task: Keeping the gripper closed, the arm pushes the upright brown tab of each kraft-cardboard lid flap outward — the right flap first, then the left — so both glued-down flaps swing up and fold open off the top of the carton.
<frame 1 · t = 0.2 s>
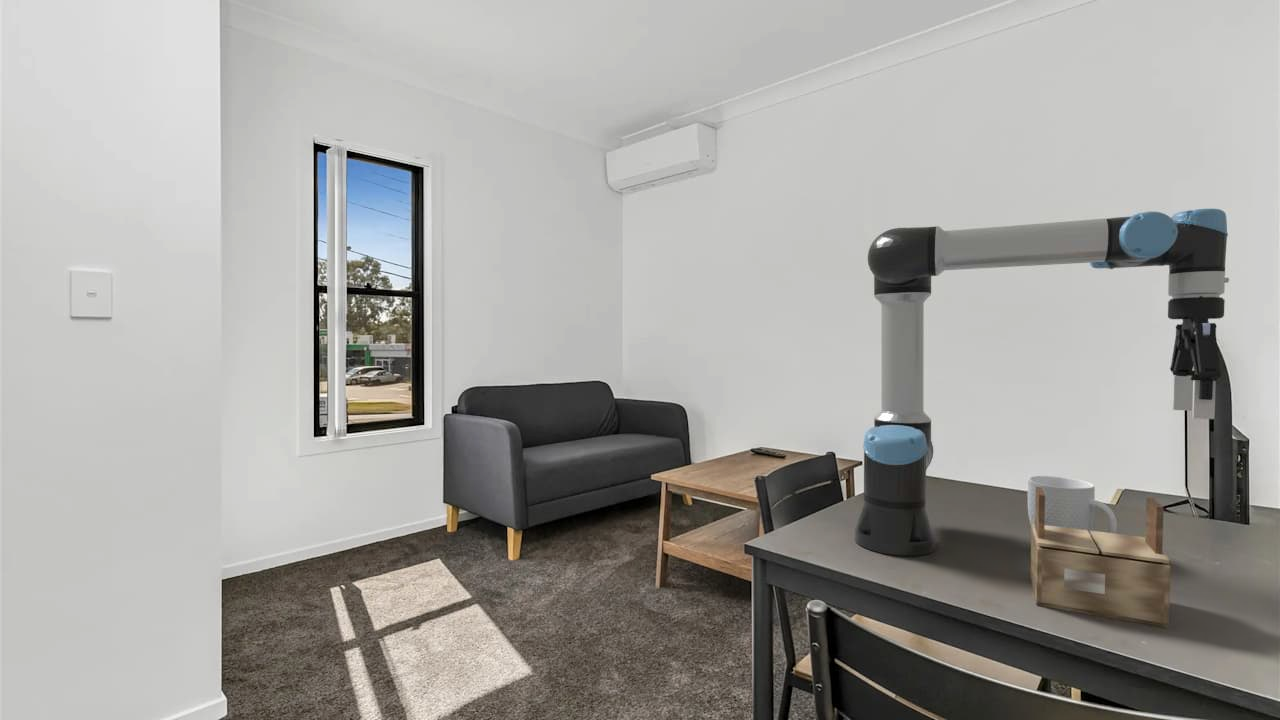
hand: (1192, 414, 110), 28 cm above the table, fingers open, 13 cm apart
left flap: (1063, 516, 98), point 13 cm above the table, hinge at 0.0°
carton: (1093, 600, 96), on the table
mug: (1065, 548, 121), on the table
right flap: (1127, 523, 94), point 13 cm above the table, hinge at 0.0°
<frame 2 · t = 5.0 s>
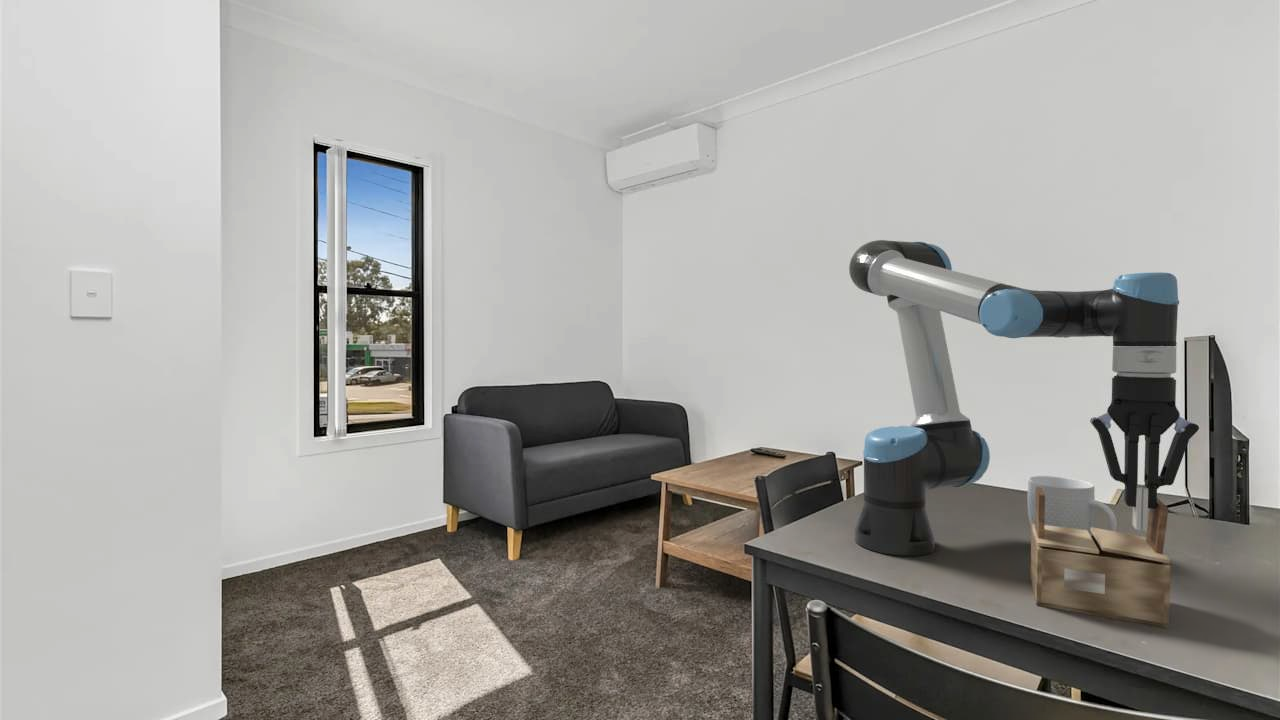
hand: (1139, 528, 93), 13 cm above the table, fingers closed
right flap: (1130, 522, 94), point 13 cm above the table, hinge at 4.5°, touching gripper
everything else where it was.
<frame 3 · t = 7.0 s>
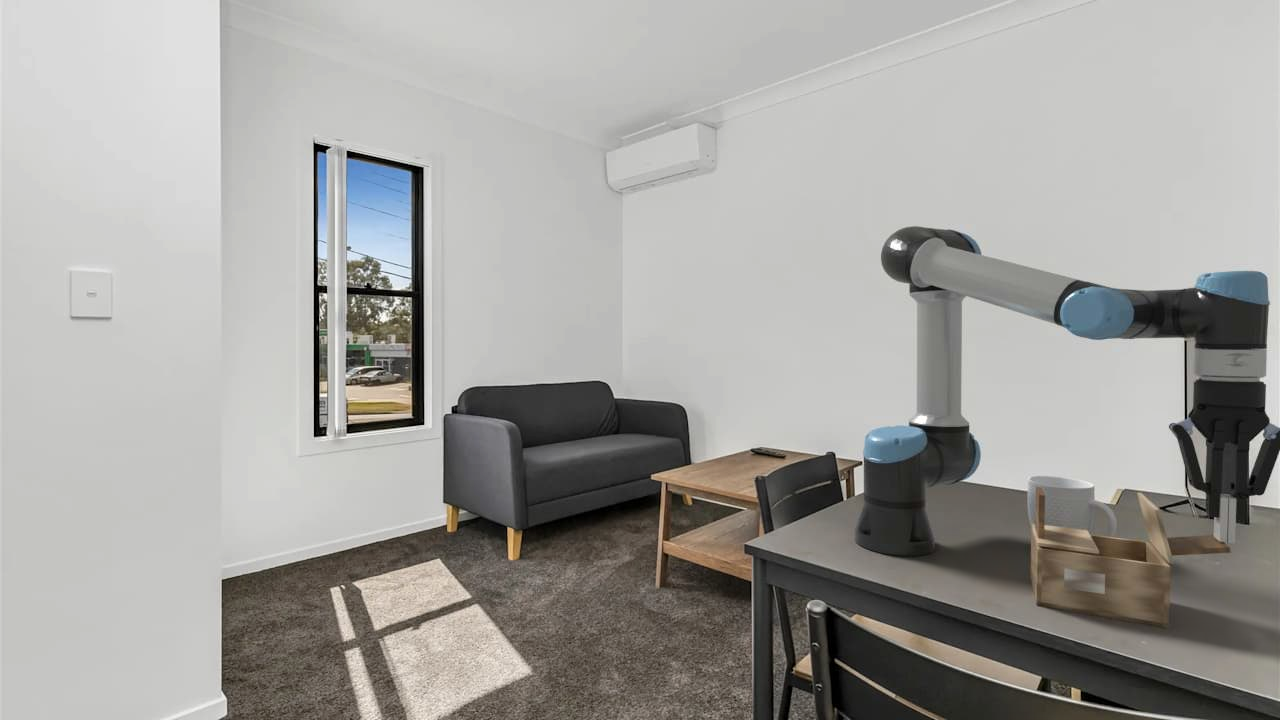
hand: (1224, 539, 88), 12 cm above the table, fingers closed
right flap: (1183, 524, 91), point 14 cm above the table, hinge at 76.6°, touching gripper
everything else where it was.
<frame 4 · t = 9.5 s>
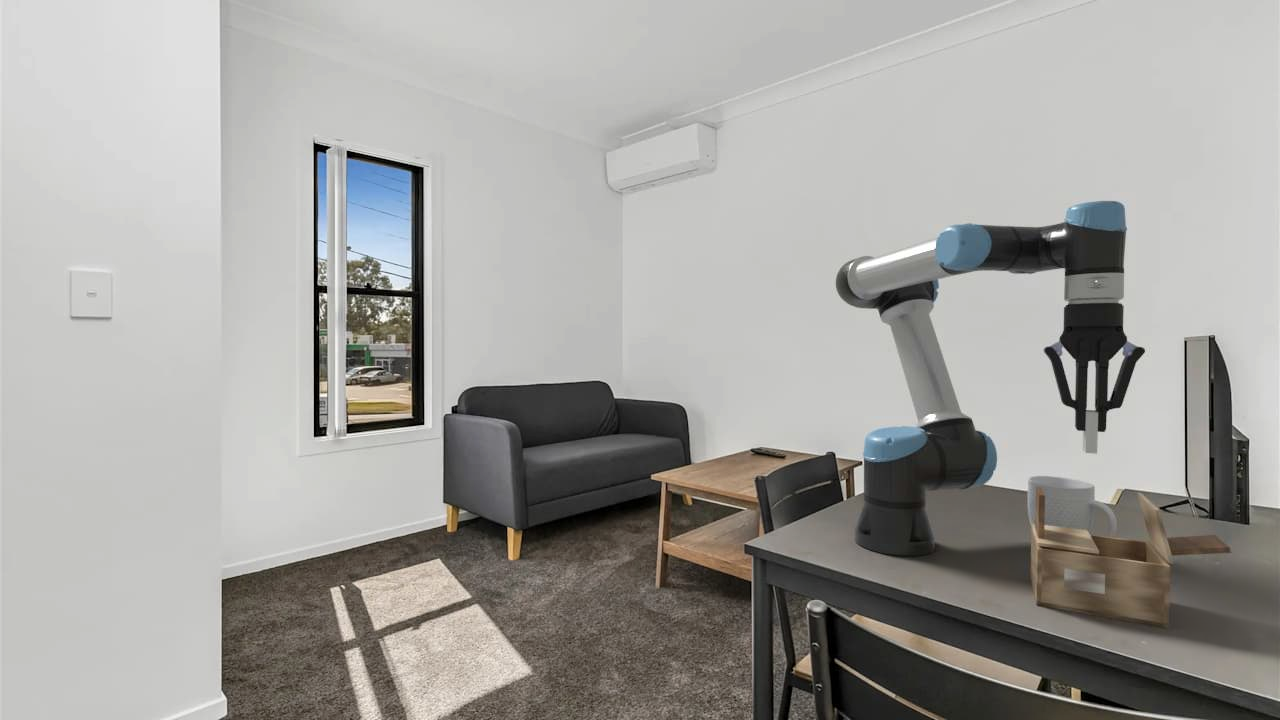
hand: (1089, 451, 96), 24 cm above the table, fingers closed
right flap: (1183, 524, 91), point 14 cm above the table, hinge at 76.7°
everything else where it was.
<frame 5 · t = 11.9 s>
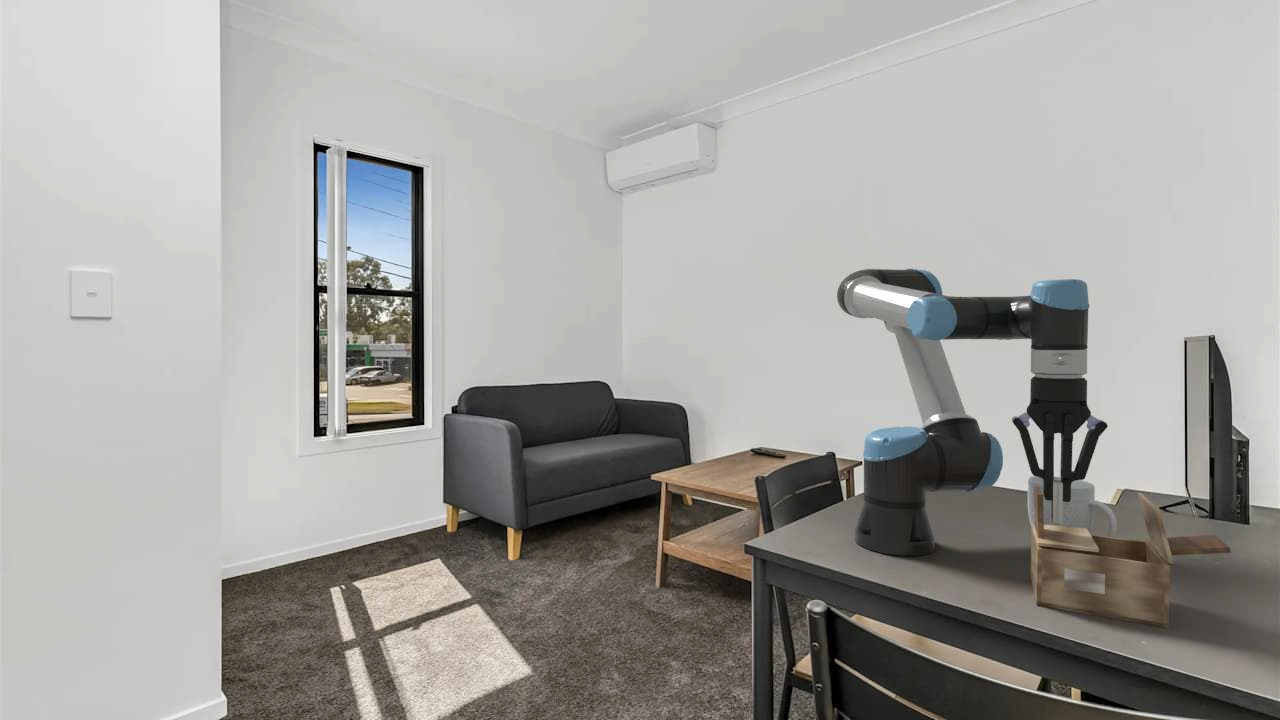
hand: (1056, 520, 99), 12 cm above the table, fingers closed
left flap: (1062, 515, 98), point 13 cm above the table, hinge at 2.0°, touching gripper
everything else where it was.
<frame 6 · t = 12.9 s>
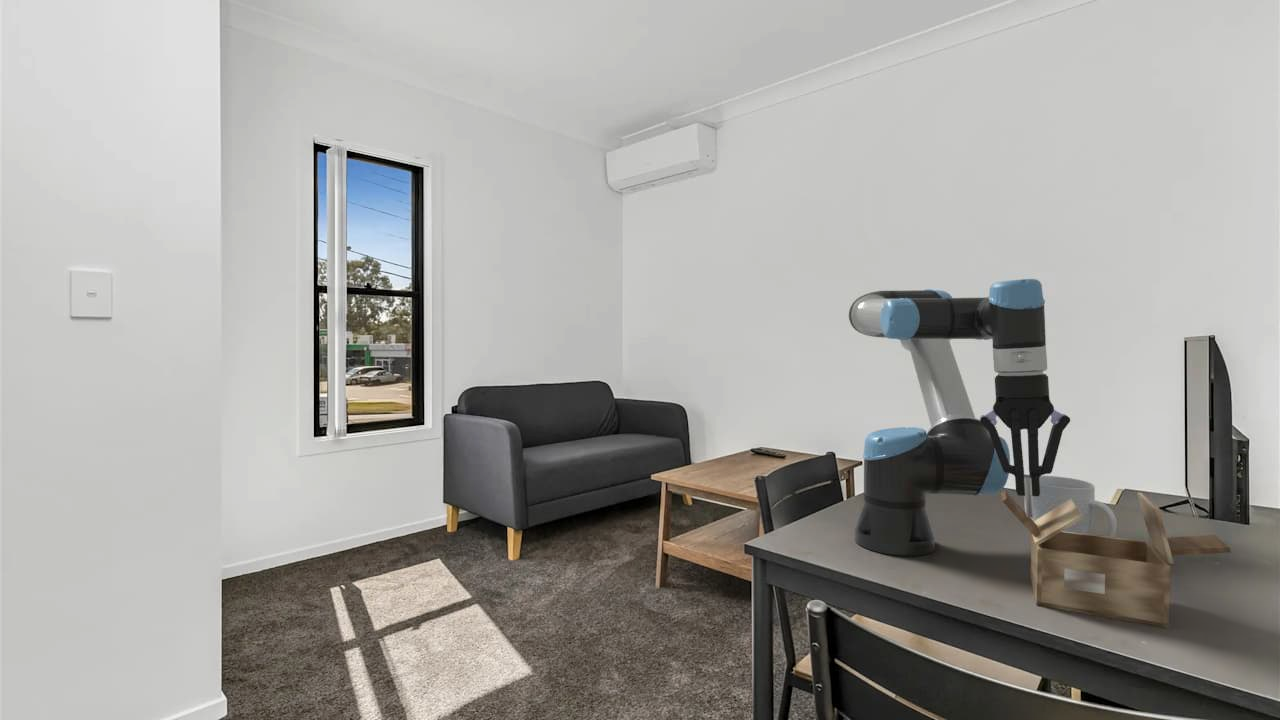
hand: (1029, 515, 100), 13 cm above the table, fingers closed
left flap: (1038, 503, 99), point 15 cm above the table, hinge at 41.6°, touching gripper
everything else where it was.
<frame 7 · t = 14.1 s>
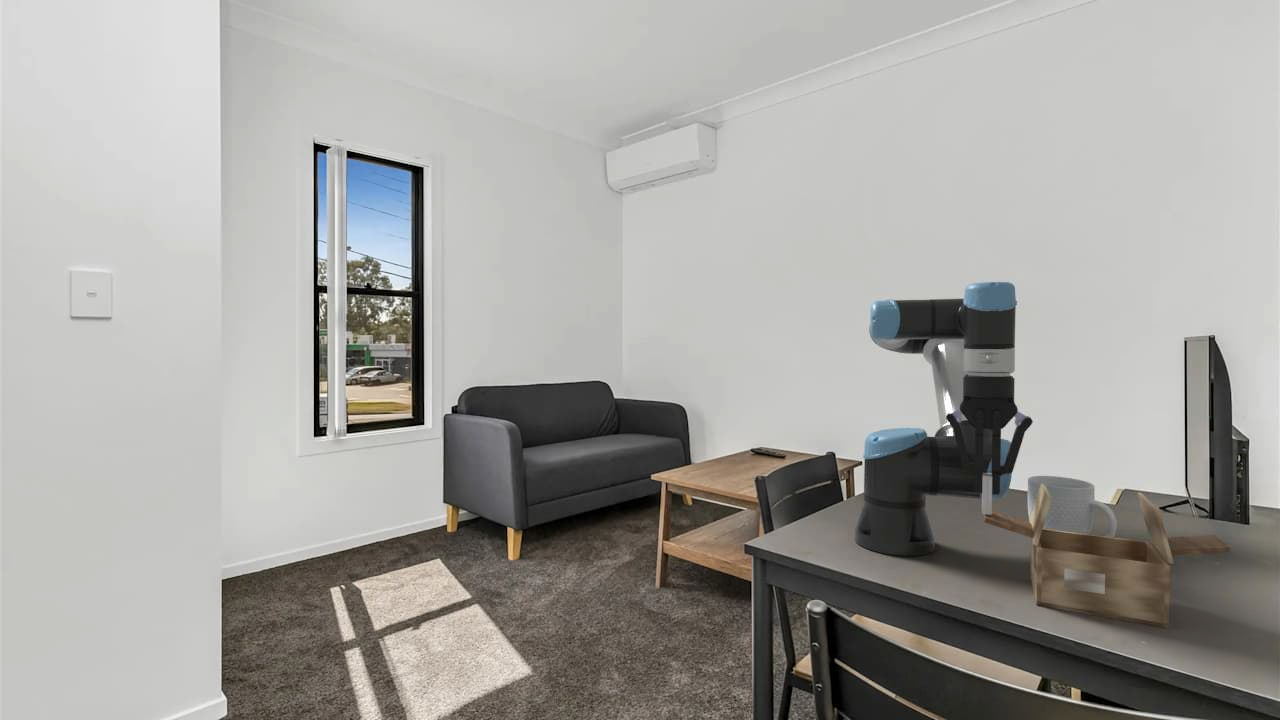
hand: (986, 512, 103), 12 cm above the table, fingers closed
left flap: (1015, 505, 101), point 14 cm above the table, hinge at 77.1°, touching gripper
everything else where it was.
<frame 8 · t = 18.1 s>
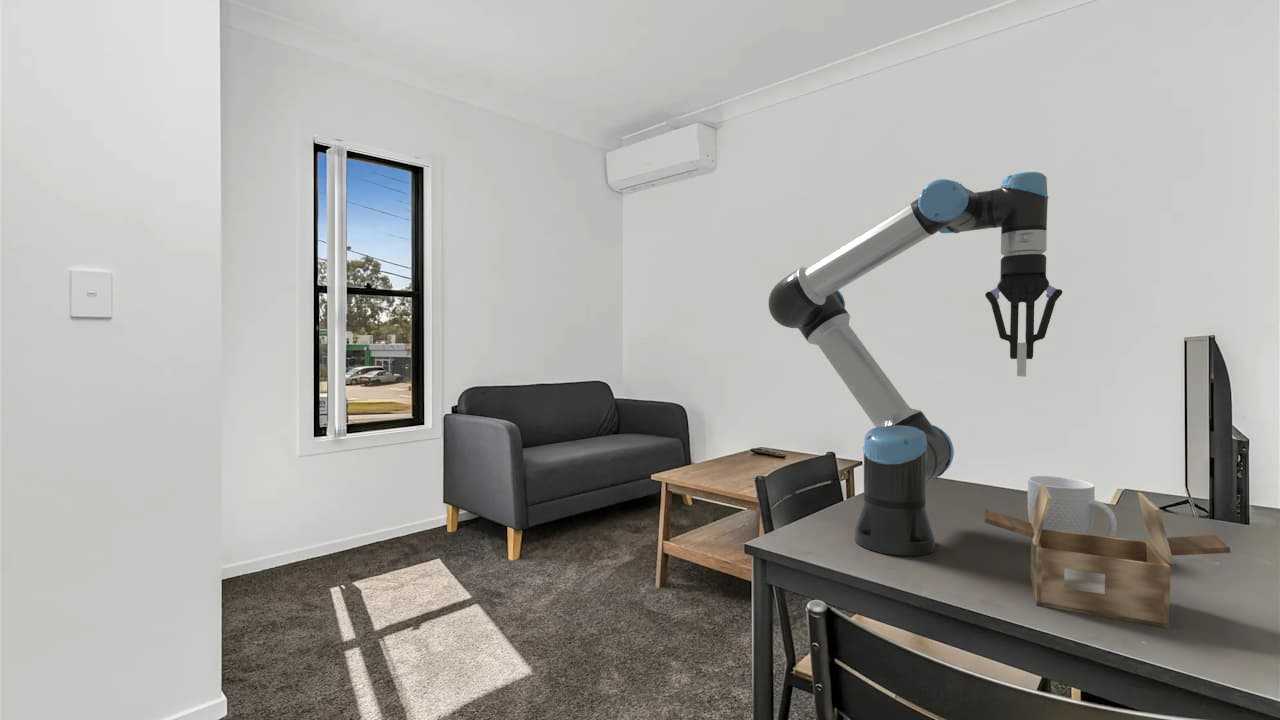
hand: (1021, 375, 119), 34 cm above the table, fingers closed
left flap: (1015, 505, 101), point 14 cm above the table, hinge at 77.2°
everything else where it was.
at the end: right flap at +77° (first picture: +0°); left flap at +77° (first picture: +0°) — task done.
